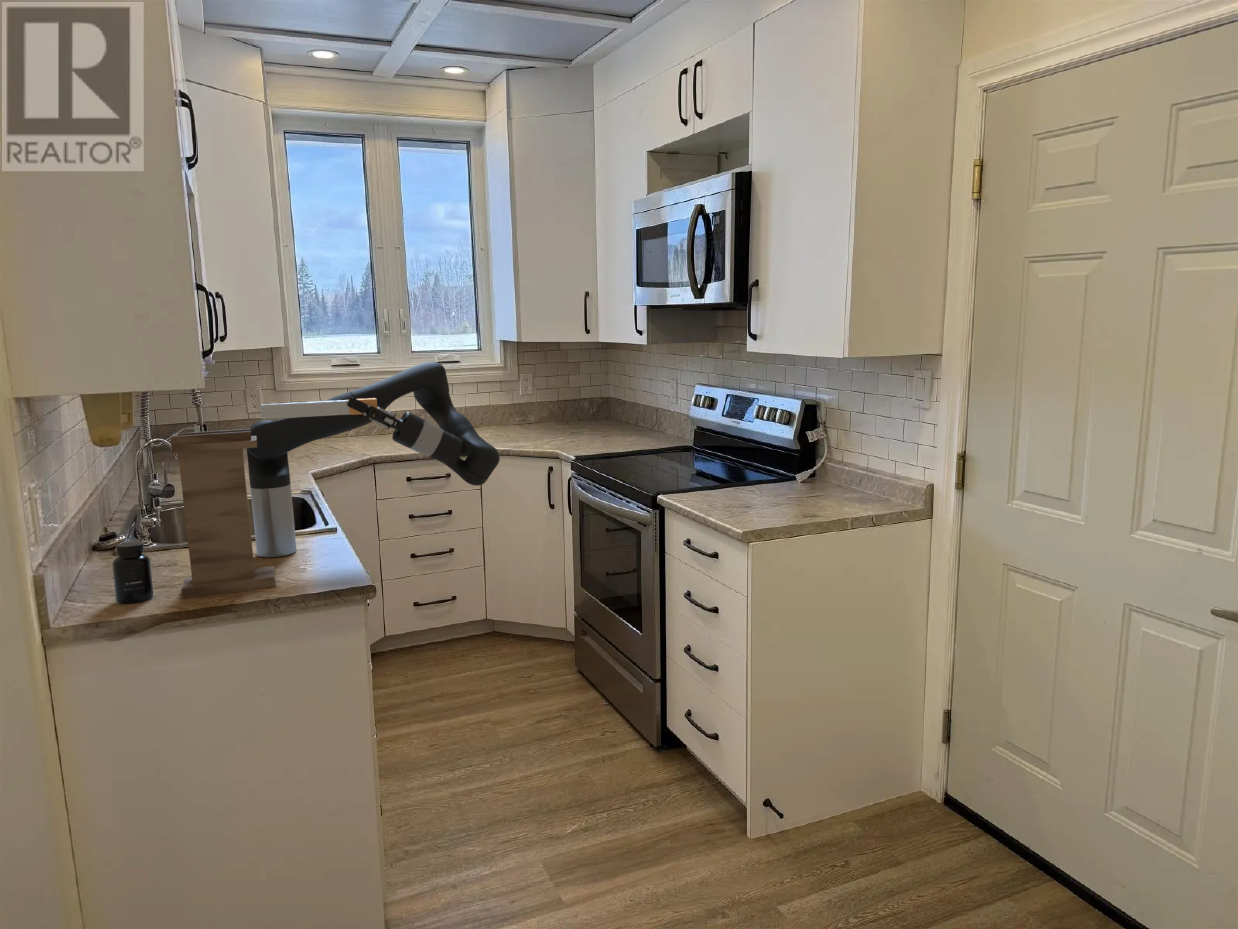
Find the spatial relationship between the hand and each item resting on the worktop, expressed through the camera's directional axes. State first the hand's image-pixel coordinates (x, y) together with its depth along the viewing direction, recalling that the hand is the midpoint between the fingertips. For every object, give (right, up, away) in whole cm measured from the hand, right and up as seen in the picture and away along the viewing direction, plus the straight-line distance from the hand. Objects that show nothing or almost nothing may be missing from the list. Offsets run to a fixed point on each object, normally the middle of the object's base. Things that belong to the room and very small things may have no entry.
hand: (348, 400), depth 185 cm
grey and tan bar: (-6, -3, -2) cm, 7 cm away
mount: (-25, -41, -4) cm, 48 cm away
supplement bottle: (-41, -43, -12) cm, 60 cm away
